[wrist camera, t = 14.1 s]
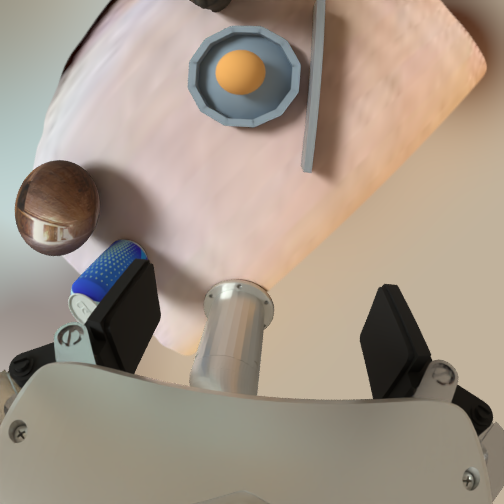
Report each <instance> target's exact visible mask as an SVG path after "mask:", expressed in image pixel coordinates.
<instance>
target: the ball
mask: <svg viewBox="0 0 504 504" xmlns="http://www.w3.org/2000/svg"><path fill="white" fill-rule="evenodd" d="M215 74H216V79H217V81H218V83H219V85H220V86H221V87H222V88H223V89H224V90H225V91H227V92H229V93H232V94H235V95H245V94H249V93H252V92H253V91H255V90H257V89H258V88H259V87H260V86H261V84H262V83H263V81H264V79H265V74H266V71H265V66H264V63H263V61H262V60H261V59H260V57H259V56H257V55H256V54H255V53H253V52H250V51H247V50H235V51H231V52H229V53H227V54H226V55H224V56H223V57H222V58H221V59H220V60H219V62H218V64H217V66H216V71H215Z"/></svg>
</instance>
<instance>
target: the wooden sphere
mask: <svg viewBox="0 0 504 504" xmlns="http://www.w3.org/2000/svg"><path fill="white" fill-rule="evenodd" d="M99 209H100V202H99V194H98V191H97V188H96V185H95V183H94V181H93V179H92V178H91V176H90V175H89V174H88V173H87V172H86V171H85V170H84V169H83V168H82V167H80V166H79V165H77V164H75V163H72V162H69V161H63V160H57V161H51V162H47V163H44V164H42V165H40V166H39V167H37V168H36V169H34V170H33V171H32V172H31V173H30V174H29V175H28V176H27V177H26V179H25V180H24V181H23V183H22V185H21V187H20V189H19V191H18V194H17V198H16V203H15V219H16V224H17V227H18V230H19V232H20V234H21V236H22V237H23V239H24V240H25V242H26V243H27V244H28V245H29V246H30V247H31V248H33V249H34V250H36V251H37V252H40V253H42V254H45V255H49V256H60V255H65V254H68V253H71V252H73V251H75V250H76V249H78V248H79V247H81V246H82V245H83V244H84V243H85V242H86V241H87V240H88V238H89V237H90V236H91V234H92V232H93V231H94V228H95V226H96V224H97V220H98V216H99Z"/></svg>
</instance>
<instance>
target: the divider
mask: <svg viewBox="0 0 504 504" xmlns="http://www.w3.org/2000/svg"><path fill="white" fill-rule="evenodd" d="M324 24H325V0H316V2H315V5H314V8H313V29H312V46H311V61H310V75H309V88H308V100H307V111H306V121H305V132H304V141H303V151H302V160H301V167H302V169H303V172H308V173H311V172H312V164H313V156H314V147H315V138H316V129H317V119H318V109H319V98H320V87H321V74H322V60H323V44H324Z"/></svg>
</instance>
